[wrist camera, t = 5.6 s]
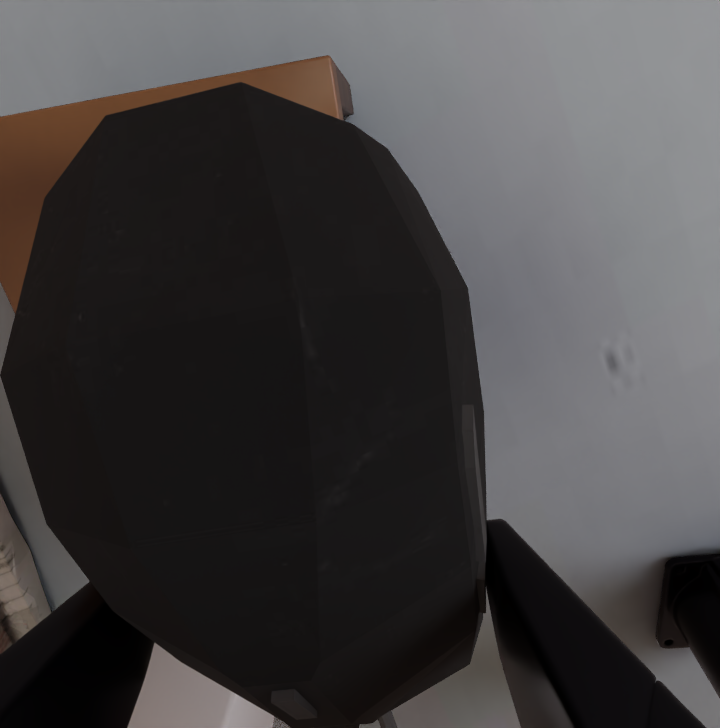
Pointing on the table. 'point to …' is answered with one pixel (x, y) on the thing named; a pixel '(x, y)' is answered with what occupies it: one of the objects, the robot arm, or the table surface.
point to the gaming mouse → (258, 403)
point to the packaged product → (17, 584)
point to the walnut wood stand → (78, 121)
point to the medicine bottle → (190, 700)
